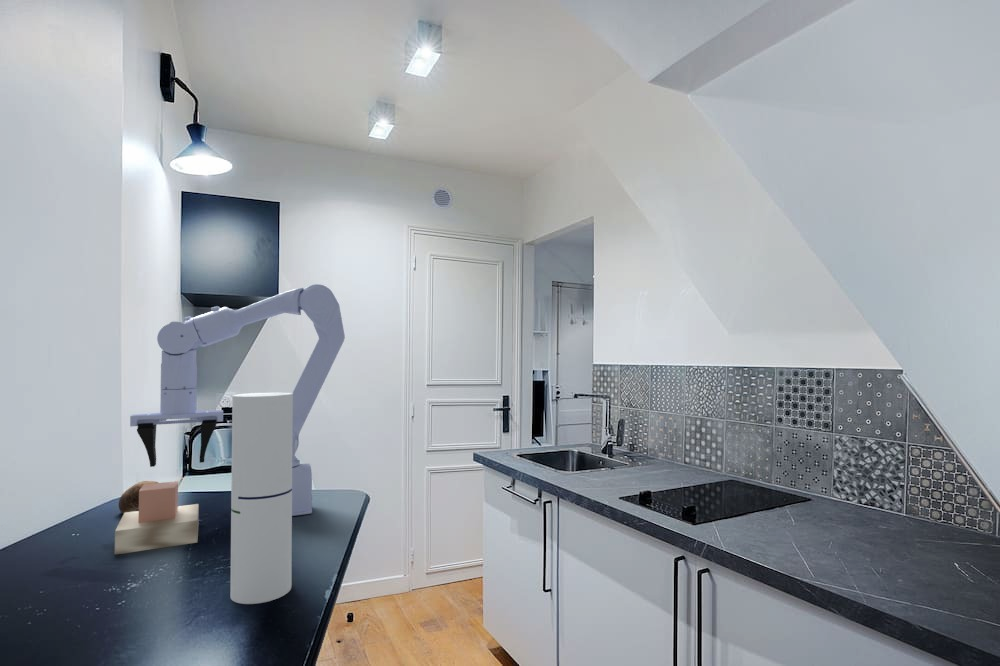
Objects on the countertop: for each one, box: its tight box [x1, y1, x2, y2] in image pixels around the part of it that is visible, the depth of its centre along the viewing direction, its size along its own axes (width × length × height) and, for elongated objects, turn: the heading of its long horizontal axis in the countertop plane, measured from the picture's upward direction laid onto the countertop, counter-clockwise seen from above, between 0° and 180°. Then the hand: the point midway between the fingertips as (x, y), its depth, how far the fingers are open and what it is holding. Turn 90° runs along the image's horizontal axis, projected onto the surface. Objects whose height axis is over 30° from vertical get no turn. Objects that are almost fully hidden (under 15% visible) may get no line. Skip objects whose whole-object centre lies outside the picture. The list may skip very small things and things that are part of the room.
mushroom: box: [118, 480, 159, 515], centre depth 106 cm, size 8×8×6 cm
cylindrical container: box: [229, 391, 293, 605], centre depth 70 cm, size 7×7×25 cm
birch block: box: [114, 503, 200, 555], centre depth 91 cm, size 11×11×4 cm
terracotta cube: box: [138, 480, 179, 523], centre depth 91 cm, size 5×5×5 cm
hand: (177, 463), depth 100 cm, fingers open, 7 cm apart
